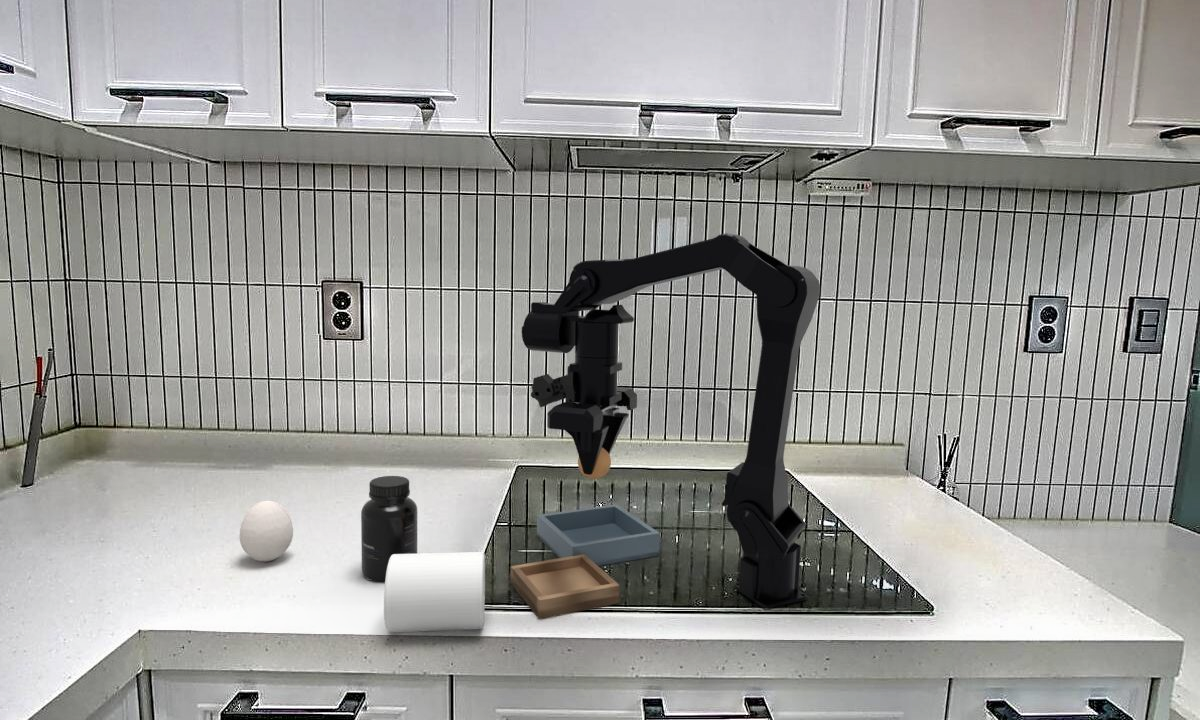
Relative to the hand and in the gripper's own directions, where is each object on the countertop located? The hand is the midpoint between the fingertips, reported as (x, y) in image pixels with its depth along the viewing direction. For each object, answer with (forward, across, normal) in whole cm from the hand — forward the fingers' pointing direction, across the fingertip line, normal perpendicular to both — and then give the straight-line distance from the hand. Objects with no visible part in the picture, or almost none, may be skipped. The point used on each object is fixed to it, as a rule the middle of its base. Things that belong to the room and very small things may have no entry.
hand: (594, 469), depth 98 cm
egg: (+12, +20, -38) cm, 45 cm away
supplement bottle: (+12, +16, -21) cm, 29 cm away
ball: (-1, 0, 0) cm, 1 cm away
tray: (+12, +13, +1) cm, 18 cm away
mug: (+12, +24, -9) cm, 28 cm away
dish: (+12, -2, 0) cm, 12 cm away
